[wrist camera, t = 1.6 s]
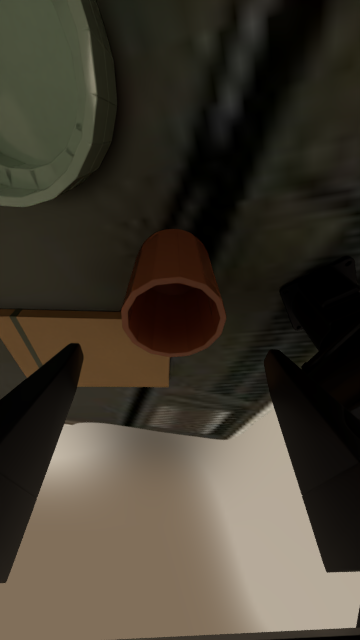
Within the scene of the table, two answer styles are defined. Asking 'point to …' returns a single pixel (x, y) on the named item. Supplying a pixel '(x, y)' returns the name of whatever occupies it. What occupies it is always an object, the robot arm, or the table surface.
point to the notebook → (82, 346)
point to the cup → (173, 296)
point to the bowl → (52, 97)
